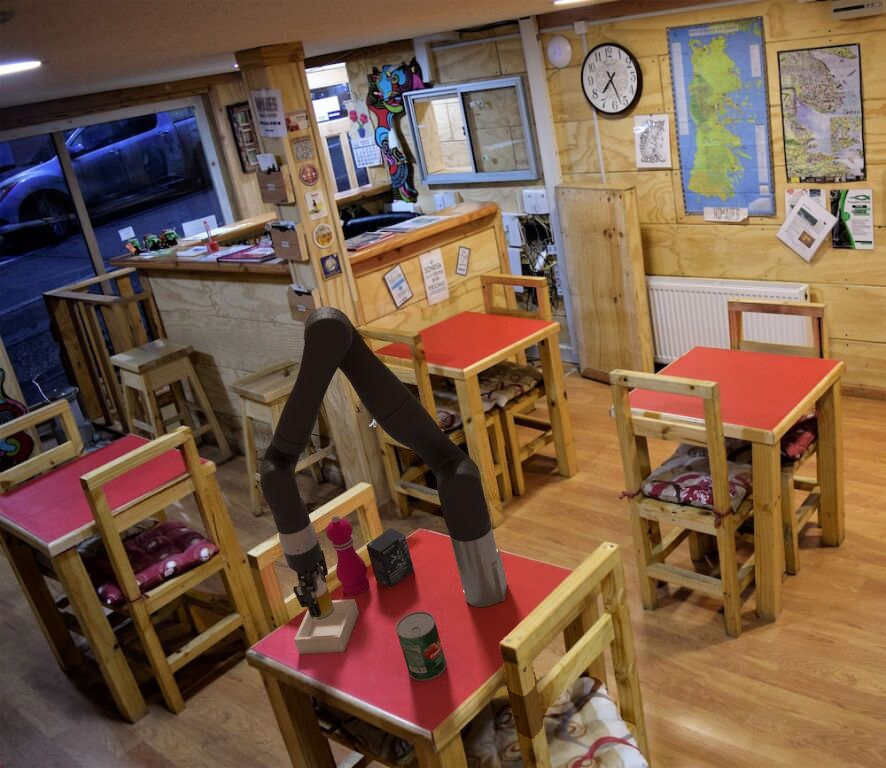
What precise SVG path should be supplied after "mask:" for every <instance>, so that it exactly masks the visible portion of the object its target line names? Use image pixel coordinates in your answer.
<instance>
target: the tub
mask: <svg viewBox="0 0 886 768" xmlns="http://www.w3.org/2000/svg"><path fill="white" fill-rule="evenodd" d="M332 603H333V606H334V613H333V615H332V616H331V617H330V618H328V619H327V620H324V621H314V620H312V619H311V617H310V614H309V611H308V609H307V610H306V613H305V615H304V617H303V619H302V622H301V624H300V625H299V628H298V629H297V633H296V635H295V637H294V638H293V641H294V643H295V647H296V649H297V652H298V655H308V654H311V655H312V654H327V653H328V654H329V653H330V654H331V653H345V652H346V649H347V646H348V643H349V641H350V638H351V636H352V633H353V630H354V627H355V625H356V622H357V620H358V616H359V614H360V613H359V610H358V609H359V608H358V606H357V603H356V600H355V598H353V599H352V598H351V599H338V600H337V599H334V600H332Z"/></svg>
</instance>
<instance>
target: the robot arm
mask: <svg viewBox="0 0 886 768" xmlns="http://www.w3.org/2000/svg"><path fill="white" fill-rule="evenodd" d="M303 342H304V344H303V349H302V350H303V351H302V356H301V363H300V366H299V371H298V374H297V376H296V379H295V383H294V385H293V387H292V389H291V391H290V393H289V395H288V397H287V399H286V401H285V403H284V406H283V407H282V411H281V413H280V415H279V419H278V422H277V425H276V427H275V429H274V430H275V431H274V434H273V437H272V440H271V441H270V443H269V445H268V447H267V449H266V451H265V454H264V456H263V458H262V461H261V465H260V468H259V469H260V470H259V471H260V473H259V475H260V476H259V482H260V483H259V484H260V488H261V491H262V492H261V493H262V494H263V497H264V499H265V501H266V503H267V505H268V507H269V509H270V511H271V514H272V517H273V521H274V524H275V527H276V530H277V533H278V534H277V535H278V540H279V543H280V545H281V548H282V552H283V555H284V557H285V559H286V560H285V561H286V563H287V566H288V567H289V569H291V570H292V571H294V572H295V573H296V576H297V581H298V583H297V585H296V586H293V588H292V589H293V593H294V595H295V597H296V599H297V601H298V604H299V605H300V607H301V608H307V607H308V608H307V610H308V609H309V612H310V615H311V617H320V616H321V610H320V607H319V604H318V601H317V596H316V592H317V591H318V587H317V575H318V574H320V577H321V580H322V581H324V582H325V583H326V584H327V578H326V577H327V576H328V575H329V572H328V566H327V563H326V562H327V561H326V556H325V553H324V550H323V549H322V548H321V545H320V544H321V543H320V542H319V539H318V535H317V532H316V529H315V526H314V525H313V523H312V521H311V518H310V514H309V511H308V507H307V505H306V502H305V500H304V499H303V497H301V494H300V491H299V488H298V484H297V477H296V476H297V475H296V469H297V464H298V462H299V459H300V457H301V454H303V453H305V451H306V449H307V447H308V445H309V443H310V439H311V437H312V434H313V431H314V429H315V426H316V423H317V419H318V416H319V414H320V410H321V407H322V404H323V401H324V399H325V395H326V393H327V391H328V388H329V386H330V384H331V382H332V380H333V377H334V376H335V374H336V372H337V370H338V369H339V370H340V371H341V373H343V374H344V376H345V378H346V379H347V380H348V381H349V383H350V384H351V385H350V386H352V388H353V390H354V392H355V394H356V395H357V397H358V399H359V400H360V401H361V404H362V405H363V406H364V408H365V410H366V411H367V412H368V414H369V415H370V416H371V418H372V419H373V420H374V421H375V423H377V424H378V425H379V426H380V428H381V429H382V430H383V431H384V432H385V433H386V435H388V436H389V437H390V438H391V439H392V440H394V441H395V442H397V443H398V444H401V445H402V446H404V447H406V448H408V449H409V450H411V451H413V452H414V453H416V454H417V455H418V456H419V457H420V458H421V460H423V462H424V463H425V464H426V466H427V467H428V469H430V471H431V472H432V473H433V476H435V479H436V482H437V493H438V500H439V504H440V507H441V511H442V515H443V519H444V522H445V527H446V529H447V530H448V534H449V535H448V536H449V538H450V543H451V546H452V550H453V554H454V559H455V562H456V566H457V567H456V568H457V570H458V575H459V578H460V582H461V586H462V590H463V591H462V592H463V594H464V598H465V601H466V603H468V604H469V605H470V606H473V607H477V608H486V607H490V606H493V605H494V606H495V605H496V604H498V603H500V602H505V601H506V595H507V588H508V581H507V580H508V579H507V577H506V571H505V568H504V563H503V559H502V555H501V551H500V549H499V548H497V544H496V538H495V535H494V531H493V527H492V522H491V517H490V516H491V515H490V514H489V509H488V505H487V501H486V497H485V496H486V495H485V493H484V488H483V484H482V483H483V482H482V475H481V472H480V469H479V466H478V465H477V463H476V462H475V461H474V460H473V459H472V458H471V457H470V456H469V455H468V454H467V453H466V452H465V451H463V449H461V448H460V446H458V445H457V444H456V443H455V442H454V441H452V439H450V437H448V436H447V434H446V433H445V432H444V431H443V430H442V429H441V427H440V426H439V424H438V423H437V421H435V418H433V417H432V416H431V414H430V413H429V412H428V410H427V409H426V408H425V406H424V405H423V403H421V402H420V400H419V399H417V397H416V396H415V395H414V393H412V392H411V390H410V389H409V388H408V387H407V386H406V385H405V384H404V383H403V382H402V380H401V379H399V377H398V376H397V375H396V374H395V373H394V372H393V371H392V370H391V369H390V368H389V366H387V365H386V364H385V363H384V362H383V361H382V360H381V359H380V358H379V357H378V356H377V355H376V354H375V353H374V352H373V351H372V350H371V348H370V347H369V346H368V344H367V343H366V341H365V340H364V339H363V338H362V335H361V334H360V333H359V332H358V330H357V328H356V327H355V326H354V323H352V321H351V320H350V319H349V317H348V316H347V314H346V313H344V312H343V311H342V310H341V309H339V308H336V307H332V306H328V305H327V306H320V307H317V308H315V309H314V310H312V311H311V312H310V314H309V315H308V316H307V318H306V321H305V325H304V329H303ZM312 586H313V588H312V589H308V588H307V587H312ZM309 593H311V594H312V598H311V596H310V594H309Z"/></svg>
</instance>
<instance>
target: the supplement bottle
mask: <svg viewBox="0 0 886 768" xmlns="http://www.w3.org/2000/svg"><path fill="white" fill-rule="evenodd" d="M317 587H318V591H317V592H316V596H317V601H318V604H319V607H320V610H321V616H320V617H311V615H310V617H311V619H312V620H314V621H324V620H327V619H328V618H330V617H331V616H332V615H333V613H334V606H333V603H332V601H333V600H332V598H331V595H330V591H329V588H328V585H327V582H326V583H325V582H324V581H322V580H321V577H320V574H318V575H317ZM307 588H308V589H312V588H313V586H312V587H307ZM309 594H310V596H311V598H312V594H311V593H309ZM306 608H307V610H308V611H309V609H308V607H306ZM309 614H310V612H309Z"/></svg>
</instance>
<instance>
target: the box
mask: <svg viewBox="0 0 886 768" xmlns="http://www.w3.org/2000/svg"><path fill="white" fill-rule="evenodd" d="M406 538H407V537H406V535H405V534H404V533H402V532H399V531H397V530H396V529H393V528H388V529H387V530H385V531H384V532H383V533H381V534H380V535H378V536H377V537H376V538H374V539H372V540H371V541H370V542H368V543H367V544H366V545H365V546H366V549H367V553H368V557H369V560H370V564H371V568H372V572H373V576H374V579H375V581H376V582H377V583H379V584H381V585H383V586H386V587H388V588H389V589H392V588H393V587H394V586H395V585H397V584H398V583H400V582H401V581H402V580H403V579H405V578H406V577H407V576H409V575H410V574H412V573H413V572H414V571H415V568H414V564H413V561H412V558H411V557H412V556H411V553H410V549H409V545H408V541H407V539H406Z"/></svg>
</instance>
